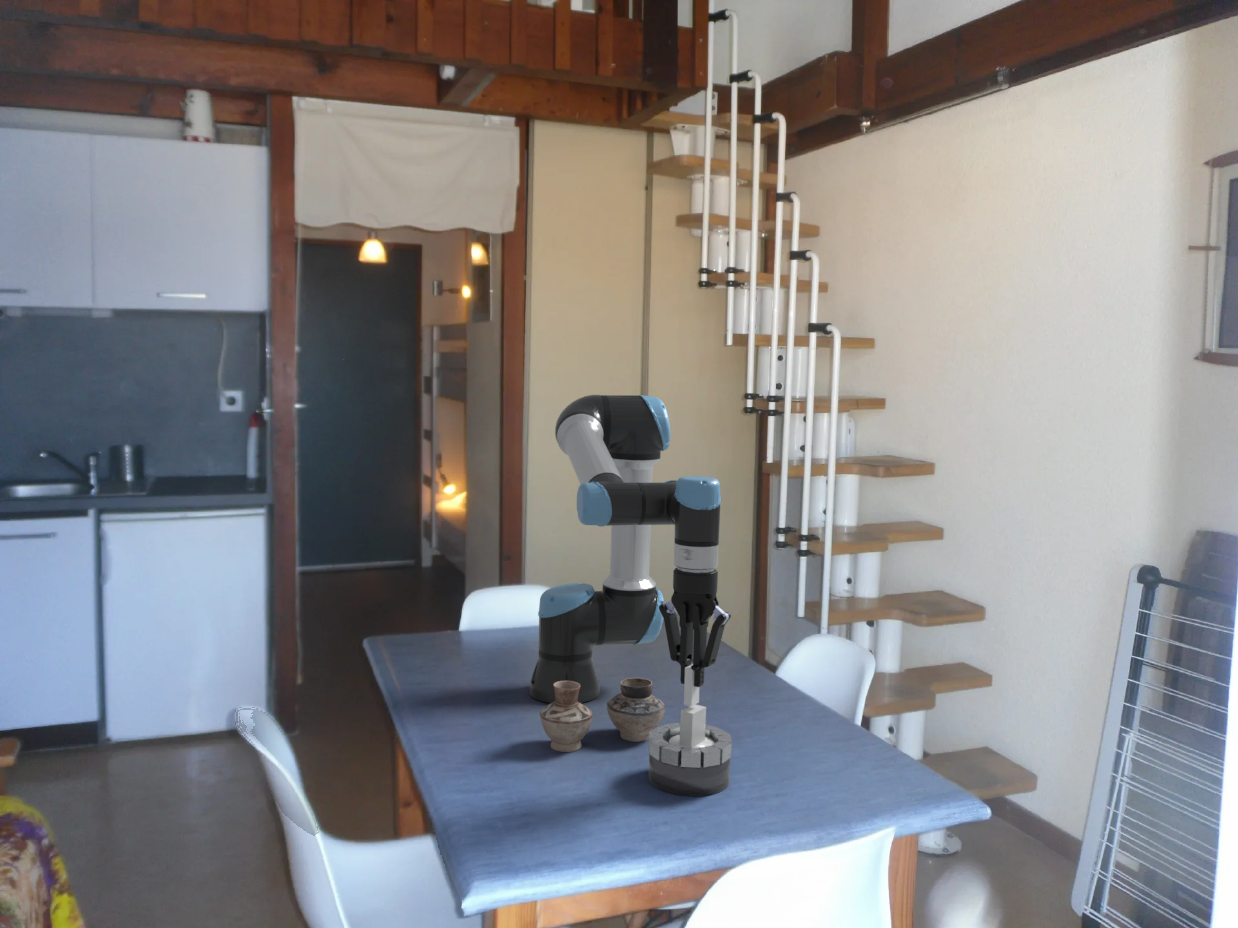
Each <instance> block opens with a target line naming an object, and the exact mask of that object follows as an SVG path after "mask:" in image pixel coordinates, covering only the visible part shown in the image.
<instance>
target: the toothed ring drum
mask: <svg viewBox="0 0 1238 928" xmlns="http://www.w3.org/2000/svg"><path fill="white" fill-rule="evenodd" d="M676 735H680V722H673V723H667V724H661V725H658V726H657V727H656V728H655V729H653V730H651V731H650V734H649V738H648V781H649V783H650V784H651V785H652V786H653V787H655V788H656V789H658V790H660V791H662V792H664V793H668V794H672V795H675V796H681V797H682V796H684V797H704V796H711V795H715V794H718V793H721V792H723V791H725V790H726V789H727V788H728V787H729V786H730V779H731V758H732V753H733V752H732V751H733V750H732V748H733V741H732V735H731V734H730V733H729V732H728V731H725V730H723V729H722V728H721V727H720V728H719V727H718V726H714V725H709V724H706V726H705V736H706V737H708V738H711V739H712V740H713V741H714V742H715V743H714V744H713V745H711V746H706V747H700V748H692V747H681V746H677V745H673V744H670V743H669V740H670V738H672V737H673V736H676Z"/></svg>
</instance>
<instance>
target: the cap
mask: <svg viewBox="0 0 1238 928" xmlns="http://www.w3.org/2000/svg"><path fill="white" fill-rule="evenodd" d="M679 724H680V735H676V736H673V737H672V738H670V740H669V743H670V744H673V745H677V746H681V747H692V748H700V747H706V746H711V745H713V744H714V743H715V742H714V741H713V740H712V739H711V738H708V737H706V736H705V726H706V725H707V707H706V706H703V705H701V704H700V705H699V704H695V705H693V706H692V707H691V706H687V707H686V708H684V709H681V710H680V721H679Z"/></svg>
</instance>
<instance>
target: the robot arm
mask: <svg viewBox="0 0 1238 928" xmlns="http://www.w3.org/2000/svg"><path fill="white" fill-rule="evenodd" d="M668 413H669V412H668V410H667V408H666V405H665V403H664V402H663V400H662V399H660V398H659V397H656V396H650V395H642V394H640V395H639V394H638V395H637V394H636V395H635V394H634V395H633V394H632V395H631V394H630V395H628V394H627V395H623V394H622V395H621V394H618V395H617V394H615V395H613V394H612V395H608V394H606V395H605V394H604V395H603V394H590V395H586V396H582V397H579V398H577V399H575V400H574V401H572V402H571V403H569V404H568V405H567V406H566V407H565V408H564V409H563V410H562V411H561V413H560V414H559V416H558V418H557V420H556V424H555V427H554V428H555V429H554V434H555V439H556V442H557V444H558V447H559V449H560V450H561V452H562V453H564V454H565V455H567V456H568V458H569V461H570V462H571V466H572V467H573V470H574V473H575V474H576V477H577V480H578V482H579V484H580V485H579V486H578V489H577V491H576V511H577V518H578V520H579V522H580V524H582V525H585V526H597V527H605V526H606V527H608V526H609V527H610V526H611V527H610V528H611V529H610V557H609V558H610V559H609V560H610V561H609V563H610V565H609V575H608V576H606V578H605V579H604V580H603V581H602V589H601V590H599V591H597V590H596V591H595V588H594V586H593V585H592V584H589V583H578V582H577V583H576V582H575V583H574V582H573V583H567V584H559V585H557V586H553V587H550V588H547V589H546V590H545V591H543V592H542V594H541V596H540V598H539V606H538V607H539V608H538V612H537V614H538V615H537V616H538V654H537V655H538V657H537V661H536V664H535V667H534V670H533V673H532V676H531V679H530V681H529V695H530V696H531V697H532V699H535V700H537V701H540V702H544V703H549V704H551V703H552V702H554V701H555V691H554V686H553V684H554V683H555V682H558V681H574V682H577V683H579V684H580V685H581V686H580V690H579V694H578V700H577V702H579V703H581V704H583V703H587V702H590V701H593V700H596V699H597V698H598V697H599V696H600V692H601V691H600V690H601V689H600V687H601V685H600V680H599V679H598V675H597V671H596V667H595V664H594V661H593V647H594V646H611V645H614V646H615V645H633V646H634V645H635V646H637V645H639V644H640V645H641V644H648V643H652V642H654V641H655V640H656V639H657V638H658V636H659V635H660V632H661V630H662V626H663V624H664V627H665V633H666V639H667V645H668V650H669V651H668V652H669V656H670V659H671V661H673V662H677V663H678V664H679V665H680V683H681V685H682V684H683V685H684V686H683V687H684V689H683V692H684V693H683V705H684V706H687V707H689V706H691V707H692V706H693V705H695V704H696V705H698V704H699V703H700V687H702V686H703V685H704V684H705V668H708V667H710V666H712V665H715V663H716V660H717V657H718V653H719V649H720V646H721V642H722V639H723V634H724V631H725V627H726V625H727V623H728V621H730V619H731V618H732V615H731V613H730V612H729V611H724V610H723V609H722V608H720V606H719V600H718V597H717V592H718V583H719V582H718V580H719V578H718V577H719V572H718V570H717V567H719V546H720V545H719V543H720V541H719V539H720V520H721V519H720V517H721V504H722V497H721V483H720V481H719V479H717V478H715V477H709V476H699V475H697V476H696V475H688V476H682V477H680V478H678V479H677V480H676V479H675V480H674V479H672V480H666V481H665V482H653V478H654V477H653V476H654V475H653V474H654V466H656V464H658V462H660V460H661V452H664V451H666V450H668V448H669V447H670V441H671V426H670V425H671V424H670V416H669V414H668ZM669 525H670V526H671V525H672V526H674V548H673V549H674V551H673V565H674V566H675V568H674V570H673V575H672V576H673V577H672V578H673V579H672V587H673V593H672V595H671V597H670V598H671V599H670V600H669V601H668V602H665V601H664V595H663V593H662V592H661V590H659V589H657V583H656V581H655V580H654V579H653V578H652V577H651V576H650V570H651V569H650V568H651V567H650V566H651V565H650V564H651V540H652V539H651V535H652V533H651V532H652V526H669ZM677 615H678V616H679V621H678V616H677ZM712 616H713V618H712V620H713V621H714V622H713V623H712V626H711V628H710V629H711V630H710V633H709V637H708V638H707V636H708V633H707V632H708V627H709V621H710V618H711V617H712ZM663 622H664V623H663Z"/></svg>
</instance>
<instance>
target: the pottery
mask: <svg viewBox="0 0 1238 928" xmlns="http://www.w3.org/2000/svg"><path fill="white" fill-rule="evenodd" d="M653 685H654V684H653V681H652V680H650V679H648V678H643V677H629V678H624V679H622V680H620V691H621V692H620V693H618V694H616V695H615V696H613V697H611V698H610V699H609V700H608V701H607V702H606V710H607V715H608V717H609V719H610V721H611V723H613V725H614V726H615V728H616V729H617V730H618V731H620V737H621V739H623V740H624V741H629V742H633V743H634V742H644V741H647V740H649V734H650V731H651V730H653V729H655V728H657V727H658V726H660V725H659V724H661V721H662V720H663V718H664V715H665V711H666V704H665V703H664V702H663V701H662V700H661V699H660V698H658V697H657V696H655V695H653V694H652V693H653V687H654V686H653ZM553 686H554V691H555V701H554V702H552V703H549V704H547V705H546V706H545V707H543V708H542V709H541V710H540V712H539V717H540V722H541V726H542V728H543V730H544V732H545V734H546V735H547V737H548V738H549V739H551V743H550V747H551V749H552V750H553V751H557V752H561V753H562V752H563V753H570V752H575V751H578V750H581V748H582V742H581V740H582V739H583V738H584V737H585V736H586V735H587V733H588V732H589V730H590V728H591V724H592V721H593V718H594V717H593V716H594V714H593V711H592V710H591V709H590V708H588V707H587V706H586V705H584V704H583V703H579V702H577V700H578V694H579V690H580V686H581V685H580V684H579V683H577V682H574V681H558V682H555V683H554V684H553Z"/></svg>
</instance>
